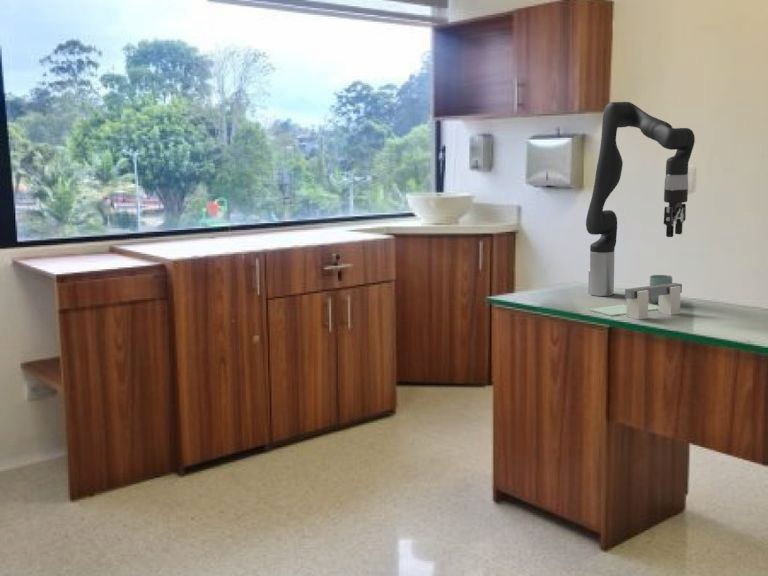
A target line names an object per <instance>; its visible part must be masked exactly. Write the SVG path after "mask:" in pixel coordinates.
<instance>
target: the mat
mask: <svg viewBox="0 0 768 576" xmlns="http://www.w3.org/2000/svg"><path fill="white" fill-rule="evenodd" d="M626 309H627V303H626V304H618V305H613V306H603V307H595V308H589V309H588V311H589V312H593V313H597V314H601V315H604V316H607V317H608V316H609V317H617V316H623V315H625V316H626ZM651 311H652V312H653V311H658V304H657V305H655V304H651V303H648V312H651Z"/></svg>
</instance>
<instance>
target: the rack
mask: <svg viewBox="0 0 768 576" xmlns="http://www.w3.org/2000/svg"><path fill="white" fill-rule="evenodd" d="M680 292H681V287H680V286H677V287H670V294H667V295H659V304H657V306H658V310H657V311H658V313H660V314H664V315H669V316H673V315H674V316H675V315H679V314H681V293H680ZM626 304H627V309H626V314H625V316H626V317H627V318H630V319H634V320H646V319H649V311H648V304H649V297H648V291H647V290H645V291H637V298H636V299H628V298H626Z"/></svg>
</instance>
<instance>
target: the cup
mask: <svg viewBox="0 0 768 576" xmlns="http://www.w3.org/2000/svg"><path fill="white" fill-rule="evenodd" d="M671 283H673V276H672V275H669V274H667V275H666V274H652V275H650V277H649V286H655V285H663V284H671ZM650 300H651V302H652V303H654V304H657V305H659V296H652V297H650Z"/></svg>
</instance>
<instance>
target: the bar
mask: <svg viewBox="0 0 768 576" xmlns="http://www.w3.org/2000/svg"><path fill="white" fill-rule="evenodd" d="M677 286H680V287H681V292H680V294H681V293H683V290H682V289H683V284H682V283H677V282H672V283H671V284H663V285H655V286H650V285H648V286H640V287H632V288H625V289H624V299H627V298H628V299H636V298H637V291H645V290H647V291H648V298H651V297H652V296H659V295H667V294H670V287H677Z"/></svg>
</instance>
